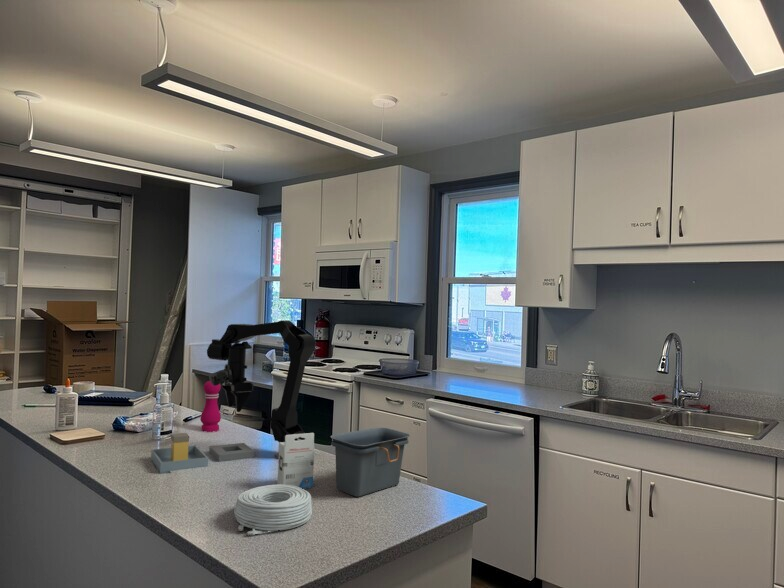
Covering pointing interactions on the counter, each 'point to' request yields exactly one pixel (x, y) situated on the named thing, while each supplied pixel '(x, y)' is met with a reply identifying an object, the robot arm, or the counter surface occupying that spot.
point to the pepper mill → (210, 408)
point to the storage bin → (368, 459)
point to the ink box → (296, 460)
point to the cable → (273, 508)
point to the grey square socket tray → (231, 452)
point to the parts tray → (165, 465)
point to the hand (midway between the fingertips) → (234, 409)
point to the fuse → (179, 446)
